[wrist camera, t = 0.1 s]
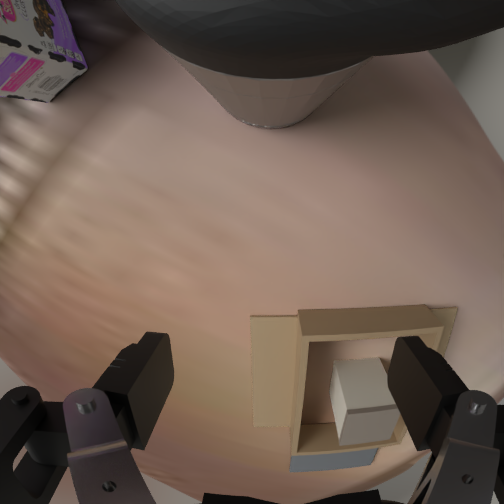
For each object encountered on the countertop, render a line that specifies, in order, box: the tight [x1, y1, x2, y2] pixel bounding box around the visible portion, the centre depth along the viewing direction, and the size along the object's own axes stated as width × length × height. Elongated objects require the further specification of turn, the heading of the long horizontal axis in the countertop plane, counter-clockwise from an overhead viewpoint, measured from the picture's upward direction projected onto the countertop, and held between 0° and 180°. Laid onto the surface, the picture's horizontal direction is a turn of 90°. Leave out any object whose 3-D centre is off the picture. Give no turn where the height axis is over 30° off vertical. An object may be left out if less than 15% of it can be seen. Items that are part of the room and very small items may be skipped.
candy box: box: [0, 0, 88, 103], centre depth 14 cm, size 14×6×16 cm, turn 26°
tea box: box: [329, 357, 400, 446], centre depth 27 cm, size 5×5×8 cm
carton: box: [250, 304, 458, 456], centre depth 29 cm, size 17×22×4 cm
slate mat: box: [290, 448, 378, 472], centre depth 35 cm, size 9×12×1 cm
